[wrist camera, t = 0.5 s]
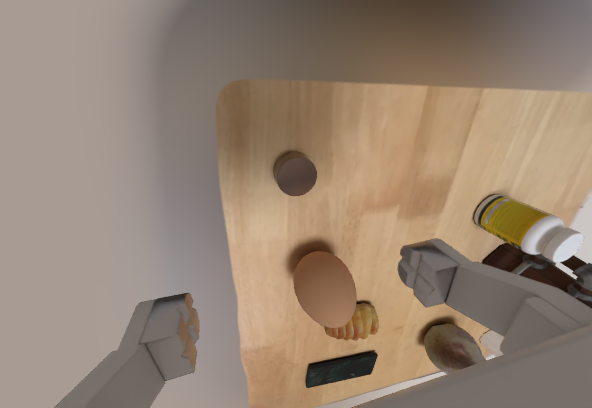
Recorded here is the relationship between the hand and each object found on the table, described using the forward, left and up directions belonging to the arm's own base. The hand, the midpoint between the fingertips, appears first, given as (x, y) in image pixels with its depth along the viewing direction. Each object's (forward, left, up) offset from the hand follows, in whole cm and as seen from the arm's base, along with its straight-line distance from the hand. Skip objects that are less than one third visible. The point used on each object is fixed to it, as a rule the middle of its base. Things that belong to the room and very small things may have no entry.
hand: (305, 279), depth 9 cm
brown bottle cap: (+3, +4, -20) cm, 21 cm away
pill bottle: (+18, +36, -21) cm, 45 cm away
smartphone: (+48, +7, -20) cm, 53 cm away
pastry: (+33, +10, -21) cm, 40 cm away
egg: (+18, +4, -21) cm, 27 cm away
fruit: (+48, +30, -21) cm, 60 cm away
